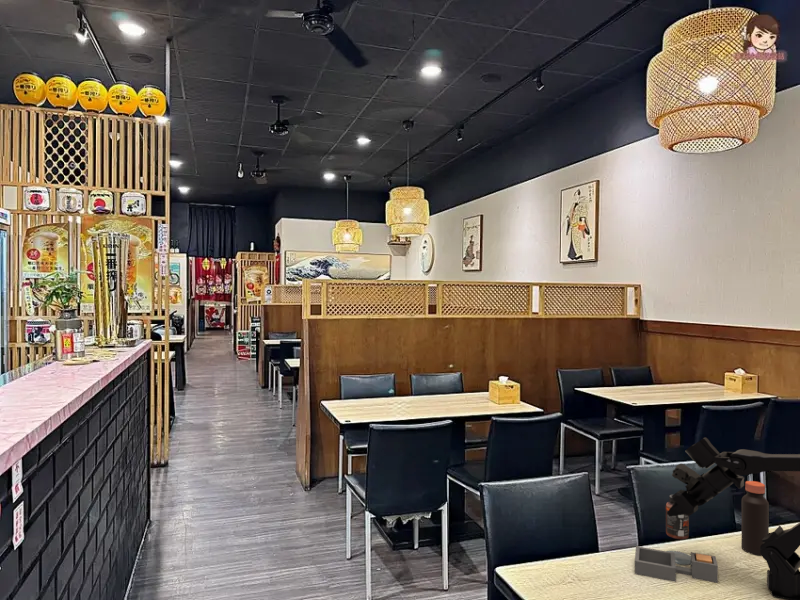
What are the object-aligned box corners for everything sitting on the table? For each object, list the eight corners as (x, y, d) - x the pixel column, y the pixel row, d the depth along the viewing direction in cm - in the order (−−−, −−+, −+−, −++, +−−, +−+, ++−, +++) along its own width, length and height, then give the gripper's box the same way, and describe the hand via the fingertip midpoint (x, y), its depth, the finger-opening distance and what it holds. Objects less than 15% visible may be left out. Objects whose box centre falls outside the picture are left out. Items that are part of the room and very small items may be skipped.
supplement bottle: (687, 542, 155) (687, 501, 155) (664, 537, 158) (664, 497, 158) (689, 534, 160) (689, 495, 160) (667, 530, 163) (666, 491, 163)
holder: (715, 572, 151) (715, 556, 151) (719, 590, 142) (719, 572, 142) (635, 558, 159) (635, 542, 159) (634, 573, 150) (634, 557, 150)
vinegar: (763, 558, 159) (764, 489, 159) (737, 550, 164) (738, 483, 164) (772, 551, 163) (772, 484, 163) (746, 543, 169) (746, 478, 169)
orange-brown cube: (710, 570, 150) (710, 555, 150) (712, 576, 147) (712, 561, 147) (695, 567, 152) (695, 553, 152) (696, 573, 148) (696, 558, 148)
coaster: (692, 555, 161) (692, 553, 161) (694, 567, 154) (694, 565, 154) (662, 549, 164) (662, 548, 164) (662, 561, 157) (662, 560, 157)
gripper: (702, 450, 163) (663, 480, 170) (679, 464, 150) (638, 495, 157) (732, 483, 157) (691, 512, 165) (711, 500, 144) (668, 530, 152)
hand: (672, 511), depth 160 cm, fingers closed on supplement bottle, 6 cm apart
